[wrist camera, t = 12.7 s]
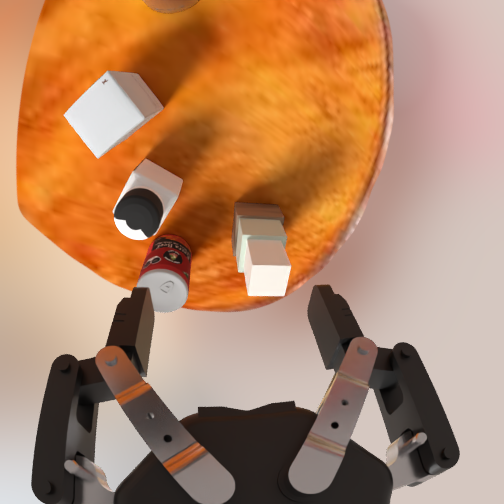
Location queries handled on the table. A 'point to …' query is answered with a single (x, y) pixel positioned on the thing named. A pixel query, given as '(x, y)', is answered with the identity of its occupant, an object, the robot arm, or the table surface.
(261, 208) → the walnut base block
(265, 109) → the table surface
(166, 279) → the canned food
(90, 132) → the supplement box
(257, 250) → the cream block
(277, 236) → the sage block
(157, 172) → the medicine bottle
